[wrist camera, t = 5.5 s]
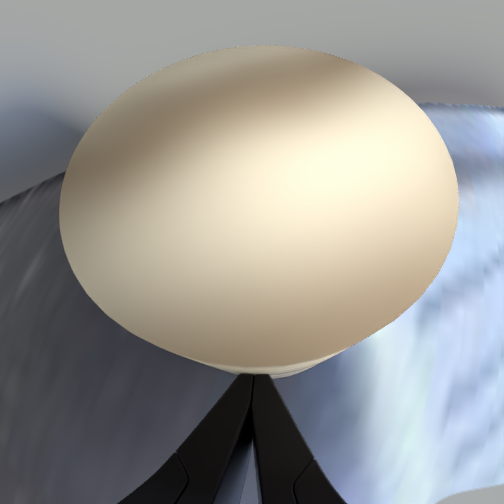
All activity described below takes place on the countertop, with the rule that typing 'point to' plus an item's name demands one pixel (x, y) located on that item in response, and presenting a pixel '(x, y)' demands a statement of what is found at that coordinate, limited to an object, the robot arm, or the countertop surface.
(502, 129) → the countertop surface
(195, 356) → the birch canister
